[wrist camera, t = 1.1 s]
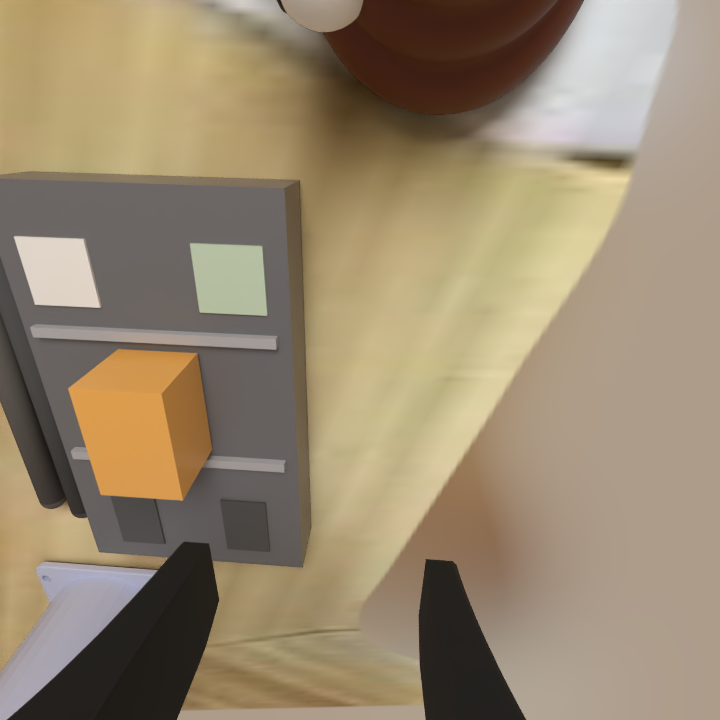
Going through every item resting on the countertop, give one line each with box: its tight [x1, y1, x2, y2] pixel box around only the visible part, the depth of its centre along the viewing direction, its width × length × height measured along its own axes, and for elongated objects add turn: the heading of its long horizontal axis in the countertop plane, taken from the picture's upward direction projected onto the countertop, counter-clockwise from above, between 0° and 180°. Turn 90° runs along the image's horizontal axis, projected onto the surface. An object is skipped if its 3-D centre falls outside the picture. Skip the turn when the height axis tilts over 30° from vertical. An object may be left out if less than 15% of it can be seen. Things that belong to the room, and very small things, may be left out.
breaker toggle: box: [68, 349, 212, 501], centre depth 16 cm, size 4×3×3 cm
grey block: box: [0, 172, 311, 567], centre depth 19 cm, size 17×10×3 cm, turn 179°
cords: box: [0, 257, 87, 518], centre depth 20 cm, size 16×3×1 cm, turn 179°
